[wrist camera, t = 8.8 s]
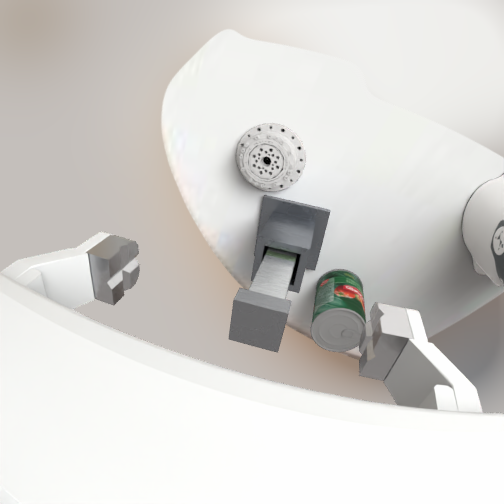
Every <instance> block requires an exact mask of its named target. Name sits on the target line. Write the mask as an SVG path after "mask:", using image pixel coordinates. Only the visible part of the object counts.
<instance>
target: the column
mask: <svg viewBox="0 0 504 504" xmlns="http://www.w3.org/2000/svg"><path fill="white" fill-rule="evenodd" d="M297 255H298V253H294V252H290V251H286V250H281V249H277V248H273V247H269V248H268V250H267V252H266V254H265V257H264V259H263V261H262V263H261V265H260V267H259V269H258V271H257V274H256V276H255V278H254V280H253V282H252V284H251V286H250V288H249V290H247V289H243V288H239V290H238V292H237V294H236V296H235V298H234V301H233V309H232V317H231V324H230V332H229V339H230V340H233V341H237V342H240V343H244V344H248V345H251V346H255V347H259V348H262V349H266V350H270V351H274V352H278V350H279V346H280V342H281V339H282V335H283V332H284V328H285V324H286V321H287V317H288V313H289V309H290V305H291V301H290V300H286V296H287V292H288V289H289V285H290V282H291V278H292V274H293V271H294V267H295V263H296V259H297Z"/></svg>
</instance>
